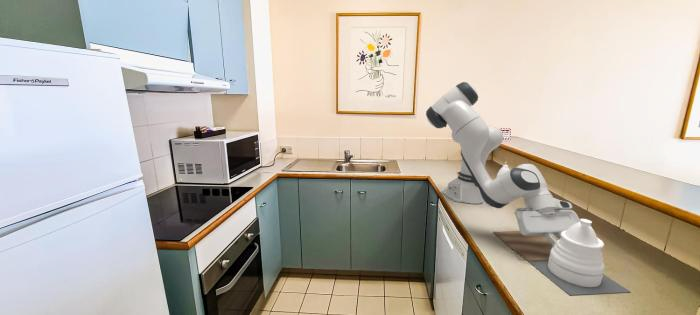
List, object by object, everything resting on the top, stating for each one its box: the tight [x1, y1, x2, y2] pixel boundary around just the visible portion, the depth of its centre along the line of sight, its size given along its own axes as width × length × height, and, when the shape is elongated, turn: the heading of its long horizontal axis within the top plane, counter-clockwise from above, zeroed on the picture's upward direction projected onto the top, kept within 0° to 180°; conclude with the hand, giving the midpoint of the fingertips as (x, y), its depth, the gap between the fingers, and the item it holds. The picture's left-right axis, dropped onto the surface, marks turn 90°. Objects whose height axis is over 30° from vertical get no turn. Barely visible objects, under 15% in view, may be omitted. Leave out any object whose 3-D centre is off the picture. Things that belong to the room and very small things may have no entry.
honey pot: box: [548, 218, 605, 287], centre depth 84 cm, size 13×13×18 cm
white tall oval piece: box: [495, 162, 510, 179], centre depth 159 cm, size 8×8×18 cm
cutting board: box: [493, 230, 553, 263], centre depth 103 cm, size 20×18×1 cm
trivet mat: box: [528, 261, 631, 297], centre depth 85 cm, size 16×18×1 cm
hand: (559, 247), depth 91 cm, fingers closed, pressing on honey pot
